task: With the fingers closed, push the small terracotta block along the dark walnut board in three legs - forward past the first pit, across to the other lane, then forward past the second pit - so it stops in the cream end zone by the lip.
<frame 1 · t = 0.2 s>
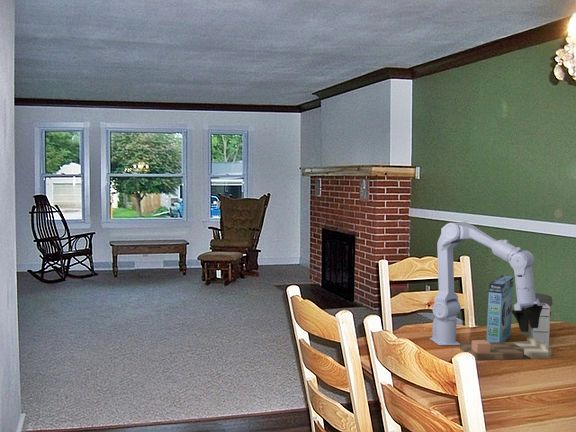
hand: (529, 329, 207), 10 cm above the table, tool pointing down, fingers open, 7 cm apart
gum box: (498, 341, 233), on the table
board: (503, 353, 216), on the table
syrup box: (539, 344, 230), on the table
reusable coffee cup: (533, 334, 244), on the table
block: (480, 350, 212), point 2 cm above the table, touching board
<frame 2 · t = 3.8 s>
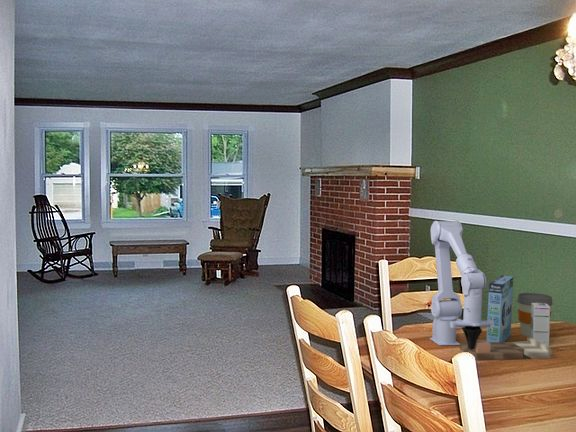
hand: (471, 348, 212), 3 cm above the table, tool pointing down, fingers closed
block: (480, 350, 212), point 2 cm above the table, touching gripper
everything else where it was.
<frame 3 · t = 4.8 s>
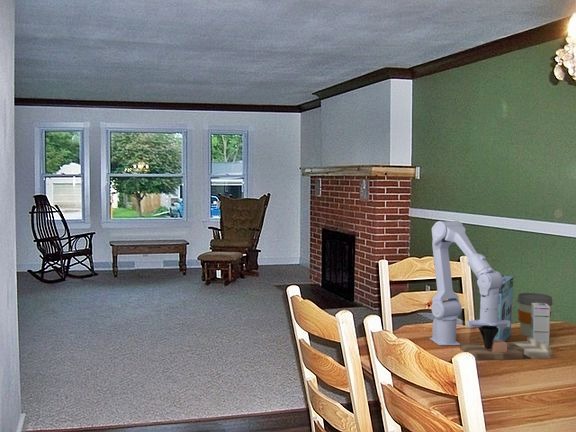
hand: (487, 348, 212), 3 cm above the table, tool pointing down, fingers closed
block: (497, 350, 213), point 2 cm above the table, touching gripper
everything else where it was.
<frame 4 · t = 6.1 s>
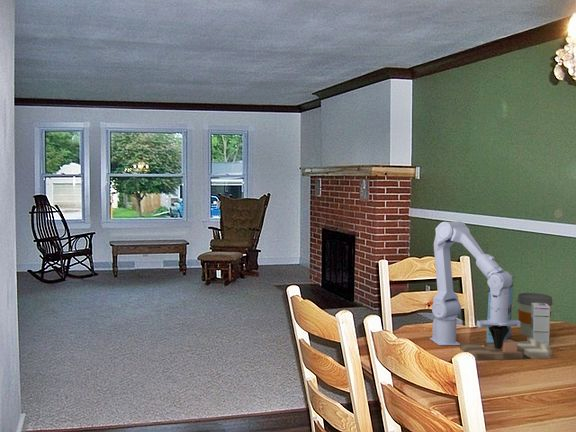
hand: (497, 348, 213), 3 cm above the table, tool pointing down, fingers closed
block: (507, 350, 213), point 2 cm above the table, touching board, gripper
everything else where it was.
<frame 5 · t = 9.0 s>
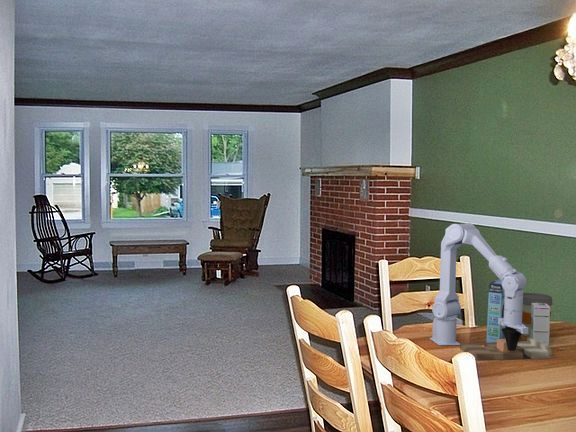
hand: (511, 350, 211), 3 cm above the table, tool pointing down, fingers closed
block: (506, 349, 214), point 2 cm above the table, touching gripper
everything else where it was.
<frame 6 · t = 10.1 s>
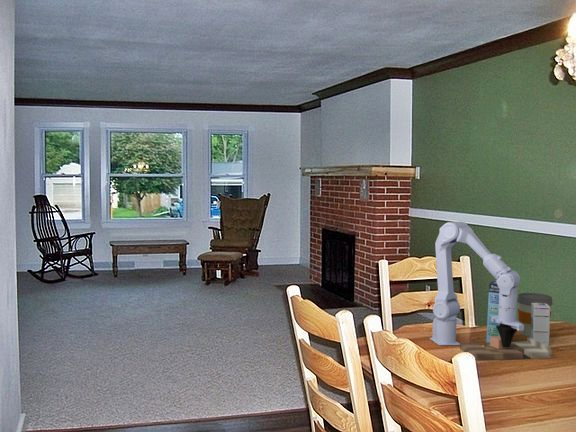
hand: (506, 346, 214), 3 cm above the table, tool pointing down, fingers closed
block: (499, 346, 218), point 2 cm above the table, touching board, gripper
everything else where it was.
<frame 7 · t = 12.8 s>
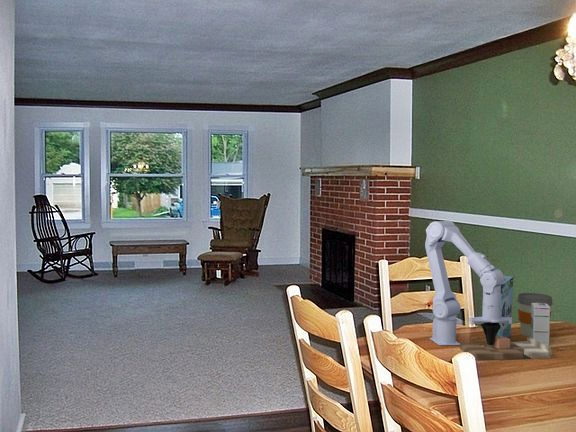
hand: (489, 344, 217), 3 cm above the table, tool pointing down, fingers closed
block: (500, 346, 218), point 2 cm above the table, touching gripper
everything else where it was.
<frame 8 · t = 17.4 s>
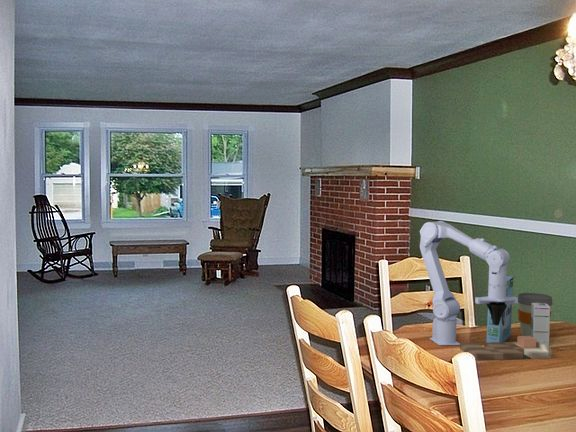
hand: (495, 324, 216), 10 cm above the table, tool pointing down, fingers closed
block: (526, 346, 219), point 2 cm above the table, touching board
everything else where it was.
at the end: block 0.2 cm from the target spot, point 2.0 cm above the table; block tilted 0°; the gripper is holding nothing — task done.
